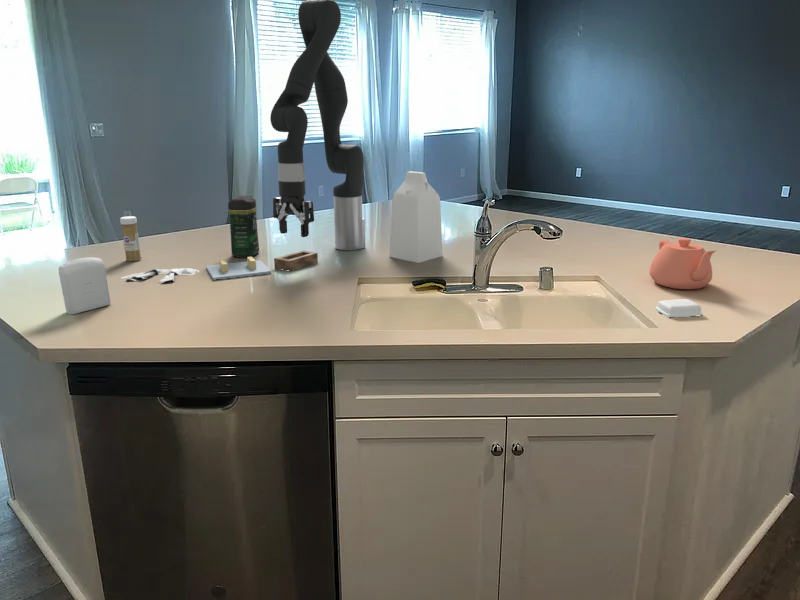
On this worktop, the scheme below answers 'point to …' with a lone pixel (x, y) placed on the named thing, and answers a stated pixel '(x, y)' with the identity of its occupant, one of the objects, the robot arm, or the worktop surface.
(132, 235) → the sprinkles bottle
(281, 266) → the frame
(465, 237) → the worktop surface
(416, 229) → the milk
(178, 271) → the cloth
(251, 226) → the coffee jar
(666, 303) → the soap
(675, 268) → the teapot
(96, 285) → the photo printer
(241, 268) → the panel
